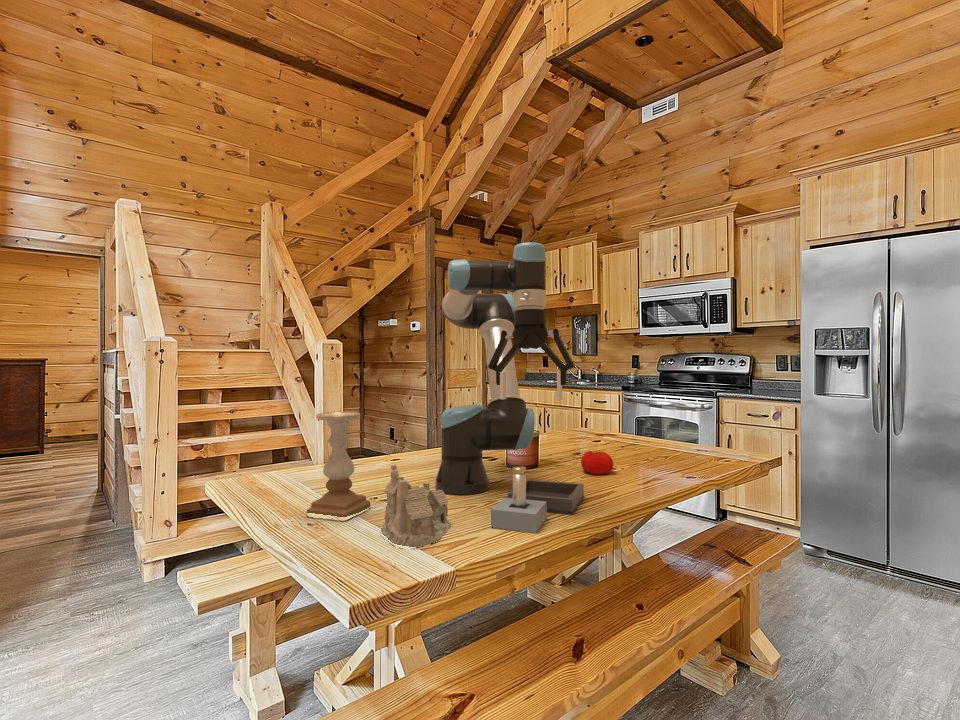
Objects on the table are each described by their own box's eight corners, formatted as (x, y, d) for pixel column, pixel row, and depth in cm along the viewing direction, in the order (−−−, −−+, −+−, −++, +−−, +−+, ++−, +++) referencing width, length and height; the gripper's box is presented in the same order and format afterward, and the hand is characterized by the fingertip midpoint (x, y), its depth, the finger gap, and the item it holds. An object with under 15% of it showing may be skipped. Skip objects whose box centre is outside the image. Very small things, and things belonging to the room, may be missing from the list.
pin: (511, 524, 112) (510, 468, 112) (515, 520, 115) (514, 465, 115) (524, 526, 111) (523, 469, 111) (527, 522, 114) (527, 466, 114)
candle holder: (371, 508, 125) (370, 412, 125) (345, 522, 115) (344, 417, 115) (333, 504, 129) (332, 410, 129) (305, 517, 119) (304, 415, 118)
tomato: (606, 468, 169) (606, 449, 169) (616, 476, 158) (616, 455, 158) (577, 469, 168) (577, 449, 168) (585, 477, 157) (585, 455, 157)
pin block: (490, 527, 110) (490, 509, 110) (505, 514, 120) (505, 497, 120) (535, 533, 107) (535, 514, 107) (546, 518, 116) (546, 501, 116)
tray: (507, 508, 125) (507, 493, 125) (525, 491, 140) (525, 479, 140) (572, 514, 119) (572, 499, 119) (583, 497, 134) (583, 483, 134)
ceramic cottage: (392, 551, 97) (396, 472, 98) (373, 529, 112) (377, 460, 113) (467, 544, 103) (470, 469, 104) (440, 523, 118) (443, 458, 119)
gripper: (474, 310, 120) (475, 399, 120) (581, 305, 112) (582, 400, 112) (484, 313, 127) (485, 397, 127) (585, 308, 119) (586, 398, 119)
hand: (531, 399), depth 120 cm, fingers open, 13 cm apart
